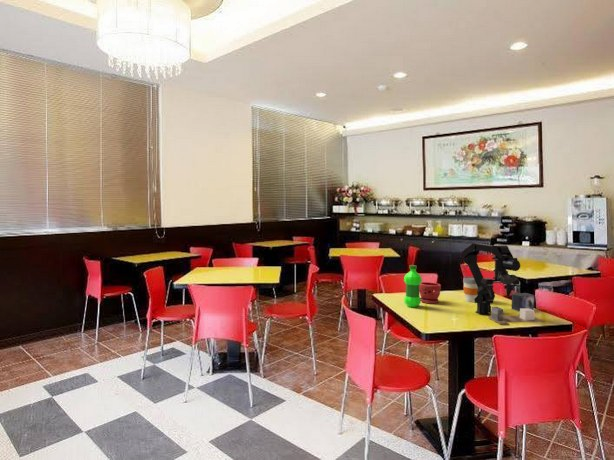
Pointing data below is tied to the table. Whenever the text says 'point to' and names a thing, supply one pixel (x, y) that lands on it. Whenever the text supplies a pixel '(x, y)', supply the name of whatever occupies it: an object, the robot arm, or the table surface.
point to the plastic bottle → (412, 287)
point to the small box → (522, 301)
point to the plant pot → (429, 292)
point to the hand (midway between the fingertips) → (499, 297)
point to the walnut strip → (507, 317)
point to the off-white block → (527, 314)
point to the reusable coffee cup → (470, 289)
